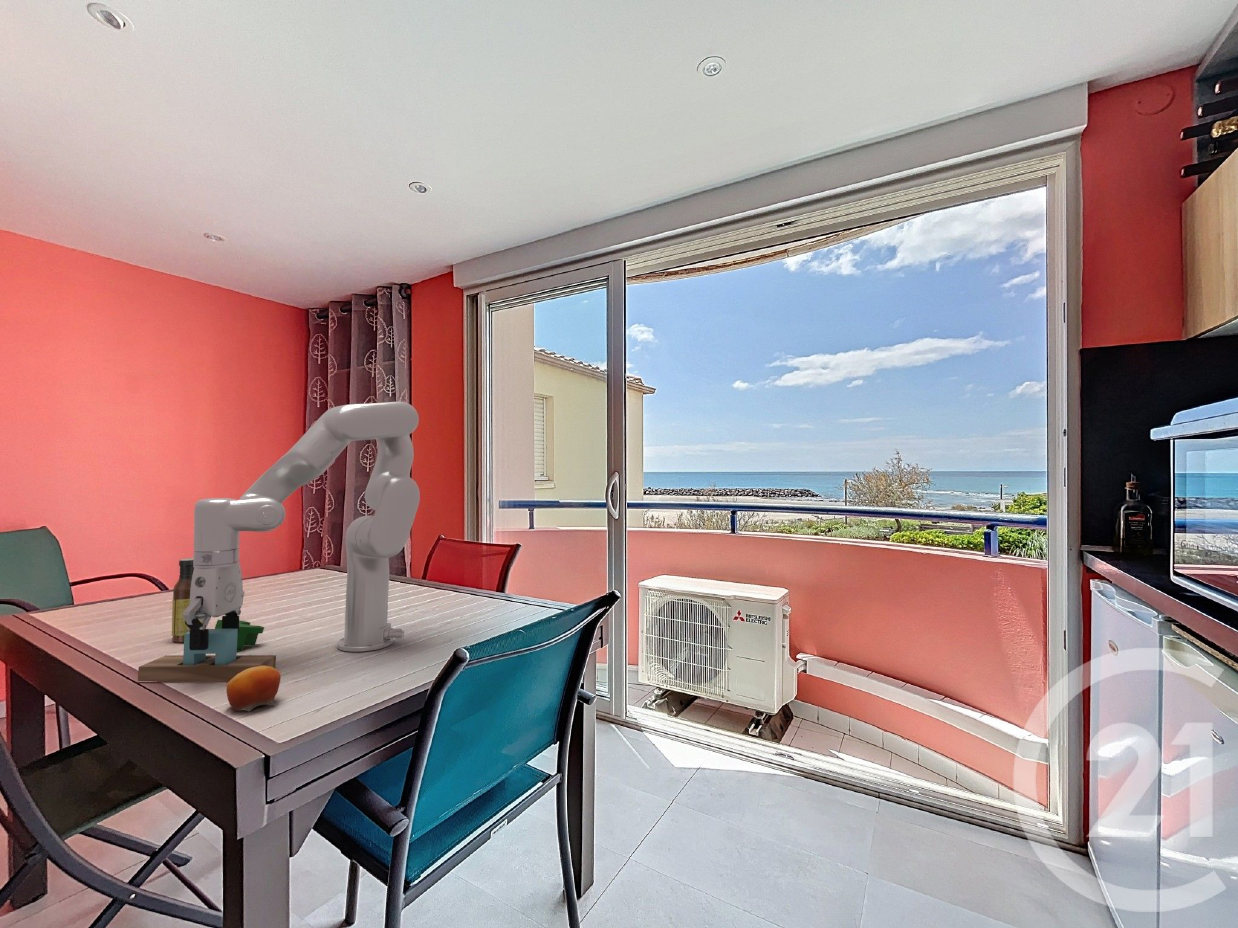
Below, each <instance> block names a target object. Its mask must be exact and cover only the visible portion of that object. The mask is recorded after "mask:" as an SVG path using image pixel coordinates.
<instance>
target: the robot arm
mask: <svg viewBox="0 0 1238 928" xmlns="http://www.w3.org/2000/svg"><path fill="white" fill-rule="evenodd" d="M419 418H420V416H419V414H418V412H417V410H416V408H415V407H414V406H413V405H411V404H410V403H408V402H406V401H405V402H404V401H390V402H389V401H388V402H376V403H375V402H374V403H351V404H348V403H347V404H344V405H338V406H334V407H330V408H329V409H327V410H326V411H325V412H324V413H323V414H322V415H320V417H319V418H318V419H317V420H316V421H315V422H314V423H313V424H312V426H310V428H309V429H308V430H307V431H306V432H305V433H304V434H303V435H302V436H301V438H300V439H298V440H297V441H296V443H295V444H294V445H293V446H292V447H291V448H290V449H289V450H288V451H286V453H285V454H283V455H282V456H281V457H280V458H279V459H277V461H276V462H275V463H273V465H271V466H270V467H269V468H268V469H267V470H266V471H265V472H264V473H262V474H261V475H260V476H259V477H258V478H257V479H256V480H255V481H254V482H253V484H251V486H249V488H248V489H246V491H245V492H244V493H243V494H242V495H241V496H240V497H239V498H238V499H235V498H230V497H212V498H211V497H210V498H203V499H199V500H197V501H196V502H195V504H194V511H193V512H194V513H193V557H192V558H193V564H194V565H193V567H194V571H193V576H192V582H191V590H190V605H189V606H188V607H187V608H186V609H185V610H184V611H183V617H184V619H185V624H186V625H187V626H188V628H187V629H188V630H189V631H190V641H189V649H190V650H206V649H208V645H209V629H210V628H207V626H208V624H209V622H210V620H211V619H212V618H219V617H221V620H222V629H238V634H239V620H240V615H241V613H242V610H241V608H242V606H243V604H244V598H245V591H244V587H243V586H244V585H243V576H242V575H243V571H242V567H241V563H240V532H255V533H256V532H257V533H265V532H271V531H274V530H275V529H277V528H279V527H280V525H282V524H283V522H284V521H285V519H286V509H285V507H284V505H283V503H284V502H285V500H286V499H288V498H289V497H290V496H291V495H292V493H294V492H295V491H297V490H298V489H299V488H301V487H303V486H305V485H306V484H308V483H310V482H312V481H315V480H316V479H317V478H319V477H320V476H321V475H323V474H324V473H325V472H326V471H327V469H329V467H330V466H332V463H334V461H335V460H336V459H337V458H338V457H339V456H340V454H341V453H342V452H343V451H344V450H345V449H346V447H348V445H349V444H350V443H351V442H354V441H355V442H356V441H371V440H375V441H376V442H377V447H378V449H377V451H378V454H377V457H376V460H375V463H374V465H373V469H372V472H371V475H370V477H369V481H368V483H367V485H366V488H365V491H364V501H365V503H366V505H367V506H368V507H369V508H371V509H372V510H374V514H373V515H363V516H360V517H358V518H356V519H354V520H353V521H352V522H351V523H350V525H349V526H348V527H347V529H346V532H345V540H344V541H345V551H346V552H345V553H346V567H347V568H346V571H347V573H346V586H345V587H346V592H345V609H344V611H345V616H344V636H343V638H340V639H339V640H338V641H336V648H337V649H338V650H340V651H343V652H352V653H353V652H354V653H356V652H359V653H360V652H370V651H376V650H380V649H381V650H382V649H383V648H386V647H389V646H391V645H392V644H393V643H394V639H403V638H404V637H405V630H404V629H403V628H393V627H392V622H388V613H389V612H388V610H389V608H388V607H389V591H390V590H389V588H390V587H389V586H390V562H389V561H390V560H389V559H390V558H392V557H394V556H395V557H396V555H398V554H399V553H400V552H401V551H402V550H403V549H404V547H405V546H406V543H407V541H408V538H409V536H410V533H411V529H412V527H413V524H414V521H415V518H416V514H417V511H418V509H419V505H420V500H421V496H420V493H421V492H420V488H419V486H418V484H417V482H416V481H415V480H414V479H413V478H412V477H410V473H411V470H412V466H413V462H414V446H413V442H412V438H411V437H410V435H411V434H412V433H413V432H414V431H416V429H417V428H418V426H419V421H420V419H419ZM198 619H203V621H202V623H201V622H200V621H199V620H198Z"/></svg>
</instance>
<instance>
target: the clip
mask: <svg viewBox="0 0 1238 928" xmlns="http://www.w3.org/2000/svg"><path fill="white" fill-rule="evenodd" d="M208 629H209V645H208V649H206V650H190V649H189V641H190V632H187V633H185V634H184V643H183V665H196V664H198V663H200V662H202V661H204V660H206V655H215V665H228V664H230V663H231V662H233V661H235V660H236V656H237V655H238V654H237V652H238V651H237V635H238V629H215V628H208Z"/></svg>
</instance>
